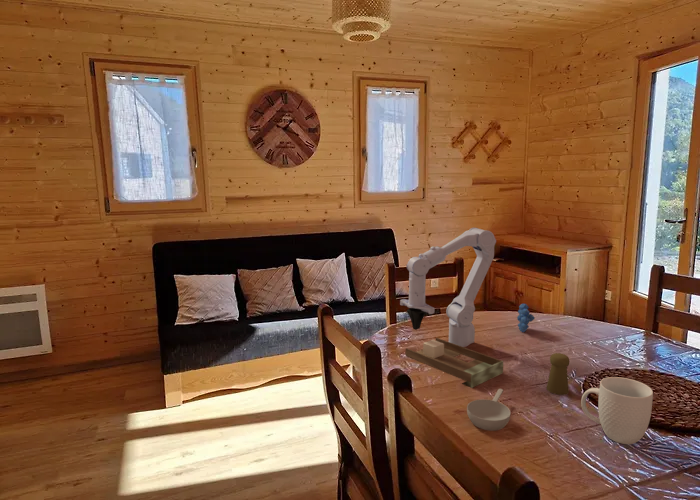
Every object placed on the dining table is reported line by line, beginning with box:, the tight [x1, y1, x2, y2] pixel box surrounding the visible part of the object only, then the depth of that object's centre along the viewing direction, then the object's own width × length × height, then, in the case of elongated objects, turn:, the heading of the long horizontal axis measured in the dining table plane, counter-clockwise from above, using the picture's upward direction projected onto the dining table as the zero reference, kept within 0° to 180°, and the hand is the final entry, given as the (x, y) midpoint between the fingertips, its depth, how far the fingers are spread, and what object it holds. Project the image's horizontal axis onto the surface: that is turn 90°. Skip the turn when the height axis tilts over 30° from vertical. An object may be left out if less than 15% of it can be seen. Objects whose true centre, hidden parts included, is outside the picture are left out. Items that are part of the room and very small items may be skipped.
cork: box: [546, 352, 570, 396], centre depth 137 cm, size 6×6×11 cm
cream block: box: [422, 339, 444, 358], centre depth 161 cm, size 5×5×4 cm
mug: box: [580, 376, 654, 445], centre depth 114 cm, size 15×11×13 cm
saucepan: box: [466, 388, 511, 432], centre depth 124 cm, size 11×18×4 cm, turn 148°
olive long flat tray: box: [405, 337, 504, 389], centre depth 155 cm, size 16×28×4 cm, turn 39°
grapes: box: [516, 303, 536, 333], centre depth 186 cm, size 12×7×12 cm, turn 169°
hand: (416, 328), depth 167 cm, fingers closed
